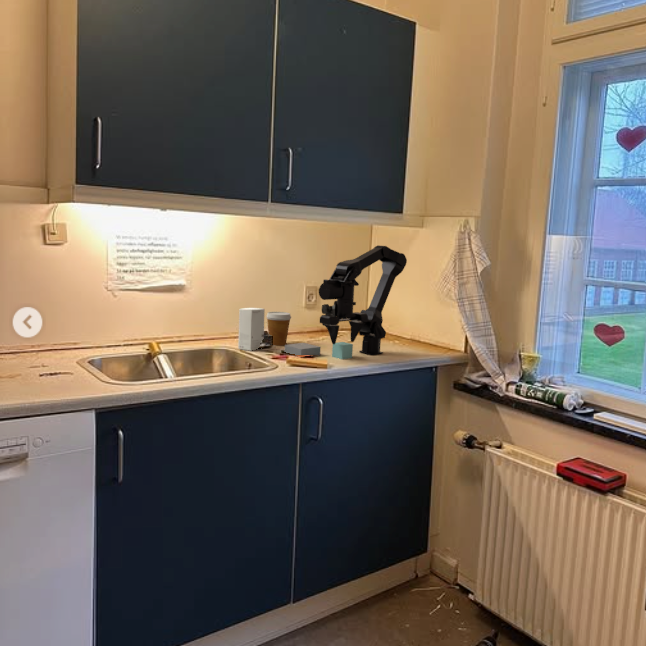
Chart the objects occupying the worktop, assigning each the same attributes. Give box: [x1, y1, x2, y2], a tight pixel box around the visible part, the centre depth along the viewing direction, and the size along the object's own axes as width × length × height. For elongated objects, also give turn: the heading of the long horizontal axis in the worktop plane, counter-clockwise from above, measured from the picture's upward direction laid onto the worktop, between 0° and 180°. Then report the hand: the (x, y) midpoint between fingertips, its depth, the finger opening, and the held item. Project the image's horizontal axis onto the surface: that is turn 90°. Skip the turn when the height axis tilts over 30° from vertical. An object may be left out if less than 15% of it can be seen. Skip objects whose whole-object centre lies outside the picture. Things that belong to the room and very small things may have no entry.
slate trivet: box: [283, 342, 321, 356], centre depth 223 cm, size 9×9×3 cm
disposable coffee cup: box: [265, 311, 292, 347], centre depth 238 cm, size 10×10×12 cm
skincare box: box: [237, 307, 266, 352], centre depth 227 cm, size 8×6×15 cm
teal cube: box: [331, 341, 354, 360], centre depth 221 cm, size 5×5×5 cm
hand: (343, 342), depth 220 cm, fingers open, 9 cm apart
